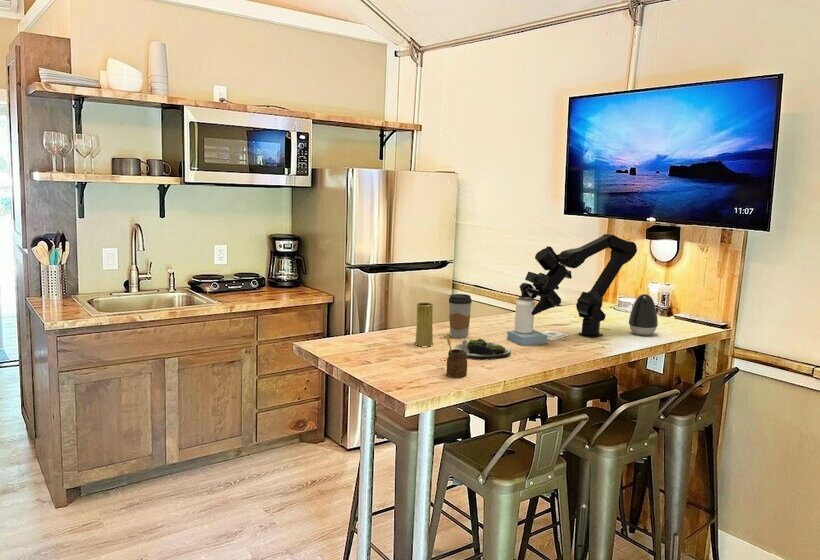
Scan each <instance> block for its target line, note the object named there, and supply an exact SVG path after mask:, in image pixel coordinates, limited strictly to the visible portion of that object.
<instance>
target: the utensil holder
mask: <svg viewBox="0 0 820 560" xmlns="http://www.w3.org/2000/svg"><path fill="white" fill-rule="evenodd" d="M449 335H450V333H446V334H445V336H446V340H447V345H448V346H449V350H448V352H447V355H448V357H447V359H446V375H449V377H452V378H464V377H466V376H467V373H468V358H467V357H466V351H465V350H461V349H455V348H454V349H452V346H451V343H452V342H451V339H450V338H451V337H450V336H449ZM465 340H466V341H467V339H466V338H461V339H460V340H459V343H458V345H459V346H460V344H463V343H462V341H465ZM466 341H465V342H466ZM465 344H466V343H465ZM466 346H467V345H466ZM463 348H464V347H463ZM466 348H467V347H466ZM464 349H465V348H464Z"/></svg>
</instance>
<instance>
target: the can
mask: <svg viewBox="0 0 820 560" xmlns="http://www.w3.org/2000/svg"><path fill="white" fill-rule="evenodd" d="M535 307H536V305H535V298H534V299H533V298H529V297H521V296H520V297H518V298H517V300H516V303H515V317H514V330H513V331H515V332H517V333H521V334H530V333H532V332H533V330H534V322H535V321H534V320H535V315H532V314H531V313H532V311H533V309H534V308H535Z"/></svg>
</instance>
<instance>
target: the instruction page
mask: <svg viewBox="0 0 820 560" xmlns="http://www.w3.org/2000/svg"><path fill="white" fill-rule="evenodd" d="M541 333H543V334H545V335H547V341H556V340H560V339H561V338H564V337H565V338H566V337H568V336H570V334H568V333H563V332H558V331H553V330H546V331H541Z"/></svg>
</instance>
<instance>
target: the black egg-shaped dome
mask: <svg viewBox="0 0 820 560" xmlns="http://www.w3.org/2000/svg"><path fill="white" fill-rule="evenodd" d="M658 319H659V318H658V312H657V308H656V304H655V301H654V300H653V298H652V296H650V295H649V294H648V293H647V294H646V293H645V294H644V293H642V294H640V295H638V297H637V298H636V300H635V301H634V303H633V305H632V309H631V311H630V314H629V319H628V325H629V329H630V330H631V332H632V333H633V334H635V335H637V336H643V335H644V336H651V335H653V334H654V333H655V332H656V329H657V327H658V325H659V324H658V322H659V321H658Z"/></svg>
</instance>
